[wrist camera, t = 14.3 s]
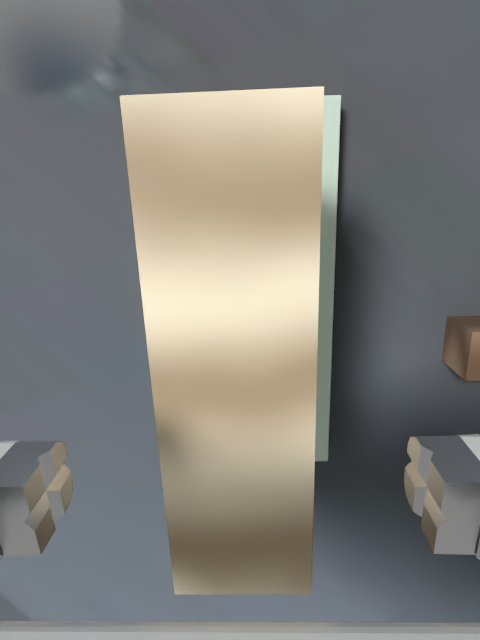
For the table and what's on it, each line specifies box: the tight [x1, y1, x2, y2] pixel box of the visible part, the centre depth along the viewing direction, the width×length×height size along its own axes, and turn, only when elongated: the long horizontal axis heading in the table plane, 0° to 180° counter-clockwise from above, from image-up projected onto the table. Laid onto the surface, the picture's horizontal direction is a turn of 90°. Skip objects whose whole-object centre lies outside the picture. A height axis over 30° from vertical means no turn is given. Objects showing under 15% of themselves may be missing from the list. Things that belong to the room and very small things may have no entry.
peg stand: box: [315, 95, 341, 461], centre depth 21 cm, size 22×11×8 cm, turn 2°
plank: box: [120, 86, 324, 594], centre depth 15 cm, size 18×6×4 cm, turn 2°
